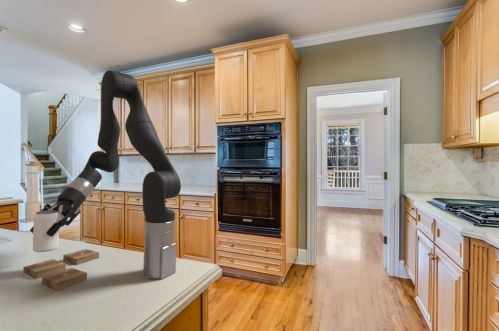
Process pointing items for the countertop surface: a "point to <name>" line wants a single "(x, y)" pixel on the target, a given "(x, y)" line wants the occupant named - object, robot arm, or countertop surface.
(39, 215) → the can
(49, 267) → the tile
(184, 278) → the countertop surface
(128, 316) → the countertop surface
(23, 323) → the countertop surface
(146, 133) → the robot arm
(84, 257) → the tile
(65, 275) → the tile
